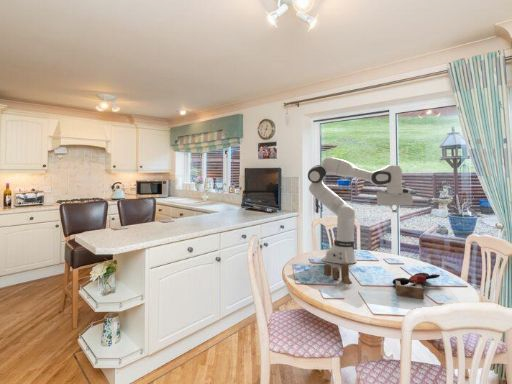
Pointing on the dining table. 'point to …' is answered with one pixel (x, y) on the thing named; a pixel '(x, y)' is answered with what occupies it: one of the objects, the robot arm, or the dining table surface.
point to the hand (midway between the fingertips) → (394, 212)
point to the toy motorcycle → (415, 278)
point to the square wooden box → (409, 290)
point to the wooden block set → (338, 272)
